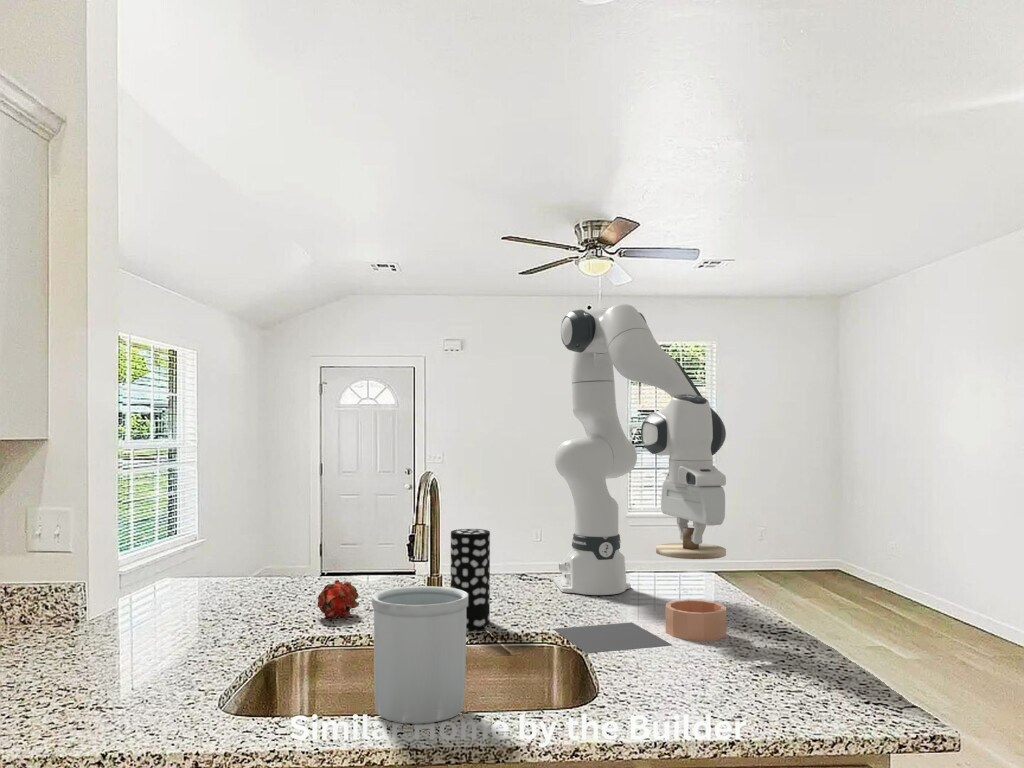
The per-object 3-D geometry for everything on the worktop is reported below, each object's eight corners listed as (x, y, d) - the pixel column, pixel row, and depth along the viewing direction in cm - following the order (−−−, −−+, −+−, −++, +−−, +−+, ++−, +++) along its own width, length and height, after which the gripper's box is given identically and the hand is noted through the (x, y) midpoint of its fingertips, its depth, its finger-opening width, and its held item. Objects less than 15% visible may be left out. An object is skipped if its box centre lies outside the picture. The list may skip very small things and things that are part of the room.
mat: (552, 632, 175) (552, 628, 175) (631, 626, 181) (631, 622, 181) (586, 657, 158) (586, 652, 158) (672, 649, 164) (672, 645, 164)
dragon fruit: (354, 617, 194) (328, 638, 183) (325, 594, 195) (298, 613, 184) (372, 589, 192) (348, 609, 180) (343, 566, 193) (317, 584, 182)
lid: (644, 549, 178) (644, 525, 178) (703, 546, 182) (703, 522, 182) (676, 560, 165) (676, 534, 165) (739, 557, 169) (739, 531, 169)
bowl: (655, 630, 177) (655, 602, 177) (706, 626, 181) (706, 598, 181) (684, 646, 166) (684, 615, 166) (737, 641, 169) (737, 611, 169)
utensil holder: (376, 692, 138) (376, 584, 139) (467, 691, 139) (468, 583, 140) (365, 727, 124) (366, 606, 124) (468, 725, 125) (468, 604, 125)
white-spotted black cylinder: (484, 632, 175) (484, 535, 176) (445, 630, 177) (446, 533, 178) (493, 622, 184) (493, 529, 184) (456, 620, 185) (456, 528, 186)
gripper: (653, 470, 183) (653, 535, 182) (702, 478, 163) (702, 550, 163) (679, 470, 185) (680, 533, 184) (731, 477, 165) (731, 549, 165)
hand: (690, 541), depth 173 cm, fingers closed on lid, 3 cm apart
